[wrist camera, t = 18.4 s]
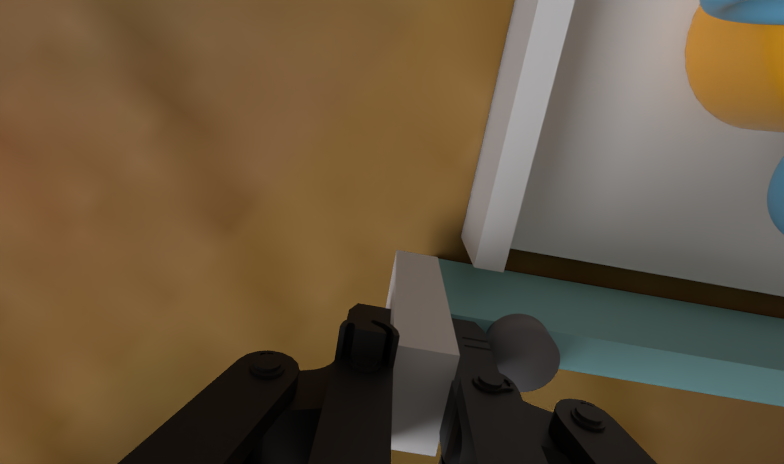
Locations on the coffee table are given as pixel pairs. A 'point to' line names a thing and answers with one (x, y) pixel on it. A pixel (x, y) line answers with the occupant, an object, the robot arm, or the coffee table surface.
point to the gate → (617, 335)
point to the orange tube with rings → (741, 71)
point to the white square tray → (619, 152)
